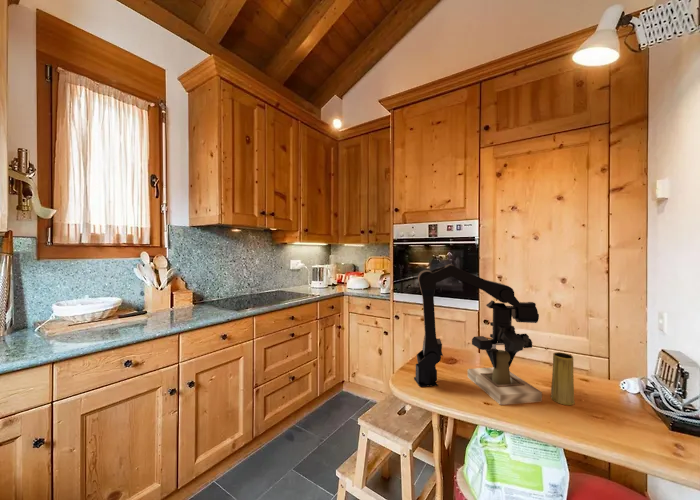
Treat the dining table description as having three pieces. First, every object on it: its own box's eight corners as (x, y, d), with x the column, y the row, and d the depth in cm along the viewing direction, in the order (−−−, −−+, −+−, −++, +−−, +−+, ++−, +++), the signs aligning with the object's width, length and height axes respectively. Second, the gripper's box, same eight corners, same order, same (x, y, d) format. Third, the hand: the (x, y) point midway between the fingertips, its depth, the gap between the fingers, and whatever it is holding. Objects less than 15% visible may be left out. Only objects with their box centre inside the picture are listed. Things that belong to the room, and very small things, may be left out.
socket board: (500, 404, 90) (500, 394, 90) (467, 376, 109) (467, 368, 109) (541, 401, 92) (541, 391, 92) (502, 374, 111) (502, 365, 111)
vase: (570, 397, 95) (571, 353, 94) (578, 407, 89) (578, 360, 88) (548, 394, 97) (548, 350, 96) (554, 403, 91) (554, 357, 90)
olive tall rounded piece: (515, 387, 97) (515, 354, 97) (496, 387, 97) (497, 354, 97) (505, 379, 103) (506, 348, 103) (488, 378, 103) (488, 347, 103)
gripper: (490, 329, 91) (490, 379, 91) (545, 327, 93) (544, 376, 94) (471, 319, 102) (470, 364, 102) (520, 318, 104) (520, 362, 105)
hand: (501, 367), depth 100 cm, fingers closed on olive tall rounded piece, 5 cm apart
